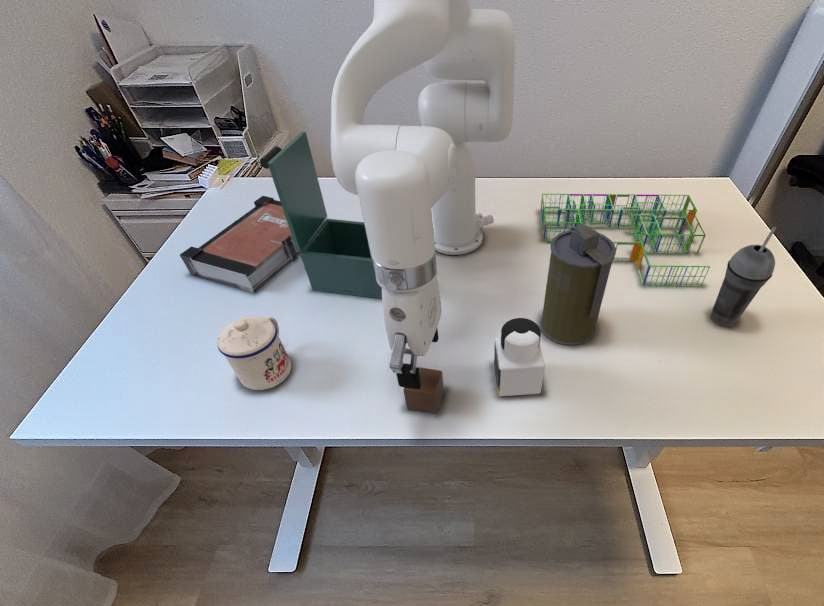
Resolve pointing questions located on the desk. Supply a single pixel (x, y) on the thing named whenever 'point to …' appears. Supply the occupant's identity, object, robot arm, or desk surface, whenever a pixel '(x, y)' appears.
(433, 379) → the block
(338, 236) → the tin
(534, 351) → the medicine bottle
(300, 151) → the lid
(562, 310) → the canister
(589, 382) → the desk surface
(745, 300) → the beverage cup
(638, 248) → the house model
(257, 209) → the book
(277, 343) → the teacup with lid
